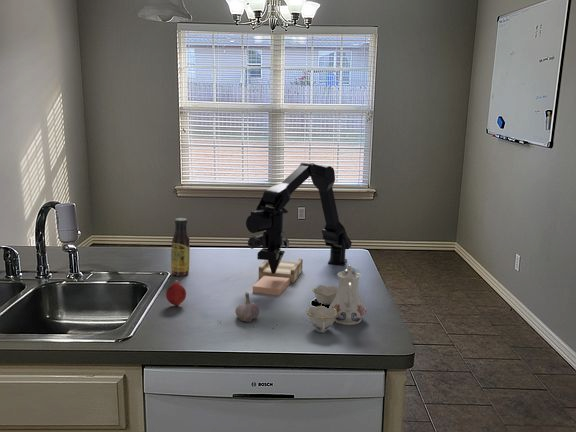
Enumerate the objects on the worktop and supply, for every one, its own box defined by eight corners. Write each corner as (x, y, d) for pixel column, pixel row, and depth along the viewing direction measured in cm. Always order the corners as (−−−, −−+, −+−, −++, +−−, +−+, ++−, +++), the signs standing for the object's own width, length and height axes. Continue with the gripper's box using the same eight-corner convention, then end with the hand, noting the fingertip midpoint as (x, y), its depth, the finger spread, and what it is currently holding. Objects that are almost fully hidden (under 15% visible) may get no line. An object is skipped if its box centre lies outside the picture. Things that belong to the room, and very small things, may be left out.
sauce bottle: (167, 275, 194) (166, 219, 190) (177, 270, 200) (176, 216, 195) (184, 277, 192) (182, 221, 187) (193, 272, 197) (192, 218, 193)
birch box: (269, 267, 205) (269, 255, 204) (302, 270, 202) (302, 258, 201) (258, 279, 191) (258, 267, 190) (293, 283, 189) (294, 270, 188)
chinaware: (309, 304, 175) (305, 253, 171) (363, 301, 173) (360, 250, 170) (308, 343, 147) (303, 284, 144) (371, 340, 146) (368, 280, 143)
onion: (169, 310, 163) (168, 284, 161) (164, 304, 168) (163, 278, 166) (188, 307, 165) (188, 282, 164) (183, 301, 170) (182, 276, 169)
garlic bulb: (249, 326, 154) (249, 298, 152) (228, 320, 157) (228, 293, 156) (265, 317, 160) (265, 290, 158) (244, 311, 164) (244, 285, 162)
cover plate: (264, 281, 191) (264, 274, 190) (289, 284, 189) (289, 277, 188) (252, 293, 180) (252, 286, 179) (279, 296, 177) (279, 289, 177)
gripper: (258, 220, 193) (258, 263, 197) (242, 232, 175) (241, 279, 179) (289, 222, 191) (288, 266, 194) (276, 235, 173) (275, 283, 176)
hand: (273, 273), depth 186 cm, fingers closed
